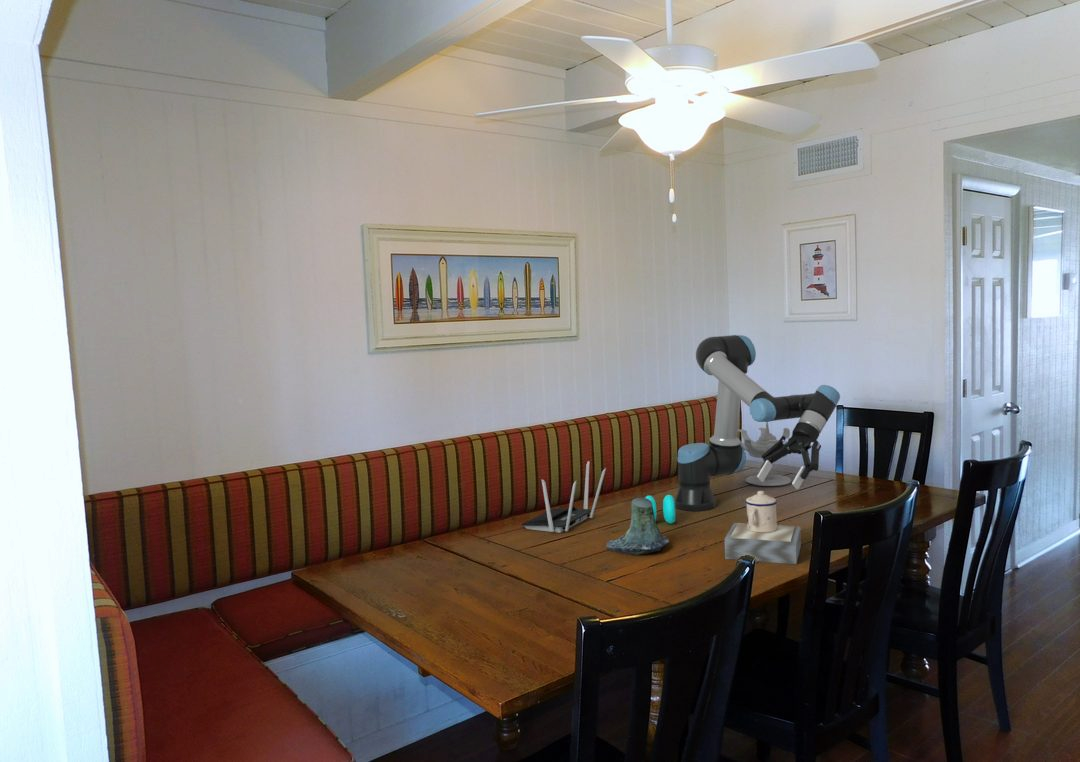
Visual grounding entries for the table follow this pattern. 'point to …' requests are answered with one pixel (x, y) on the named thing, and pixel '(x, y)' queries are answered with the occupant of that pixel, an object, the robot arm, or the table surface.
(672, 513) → the donuts
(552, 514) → the wireless router
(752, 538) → the serving riser
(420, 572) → the table surface
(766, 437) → the candelabra
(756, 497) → the teacup with lid
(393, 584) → the table surface
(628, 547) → the tree stump
